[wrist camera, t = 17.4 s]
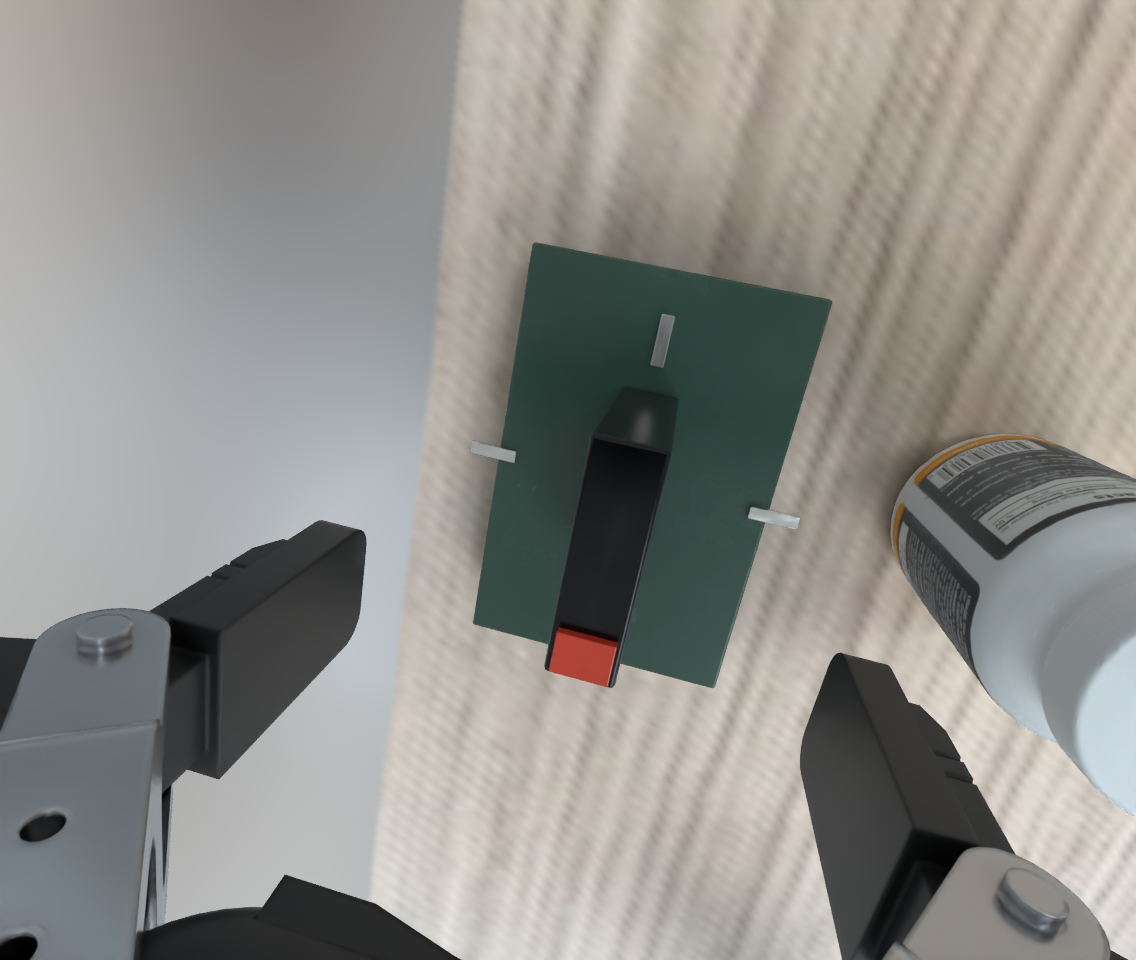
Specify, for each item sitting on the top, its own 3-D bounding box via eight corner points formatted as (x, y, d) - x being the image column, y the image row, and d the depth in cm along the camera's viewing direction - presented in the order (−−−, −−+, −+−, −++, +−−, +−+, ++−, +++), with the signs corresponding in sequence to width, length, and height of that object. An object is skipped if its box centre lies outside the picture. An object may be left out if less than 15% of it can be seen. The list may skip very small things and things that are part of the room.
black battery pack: (622, 385, 18) (589, 435, 12) (679, 397, 18) (672, 454, 12) (585, 560, 20) (540, 677, 14) (636, 573, 20) (612, 697, 14)
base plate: (524, 240, 20) (500, 235, 18) (846, 303, 19) (869, 307, 16) (471, 584, 24) (445, 620, 21) (736, 653, 23) (741, 700, 20)
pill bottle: (1041, 624, 21) (1327, 910, 11) (857, 575, 21) (984, 806, 12) (1129, 455, 19) (1557, 629, 9) (925, 406, 19) (1138, 523, 10)
